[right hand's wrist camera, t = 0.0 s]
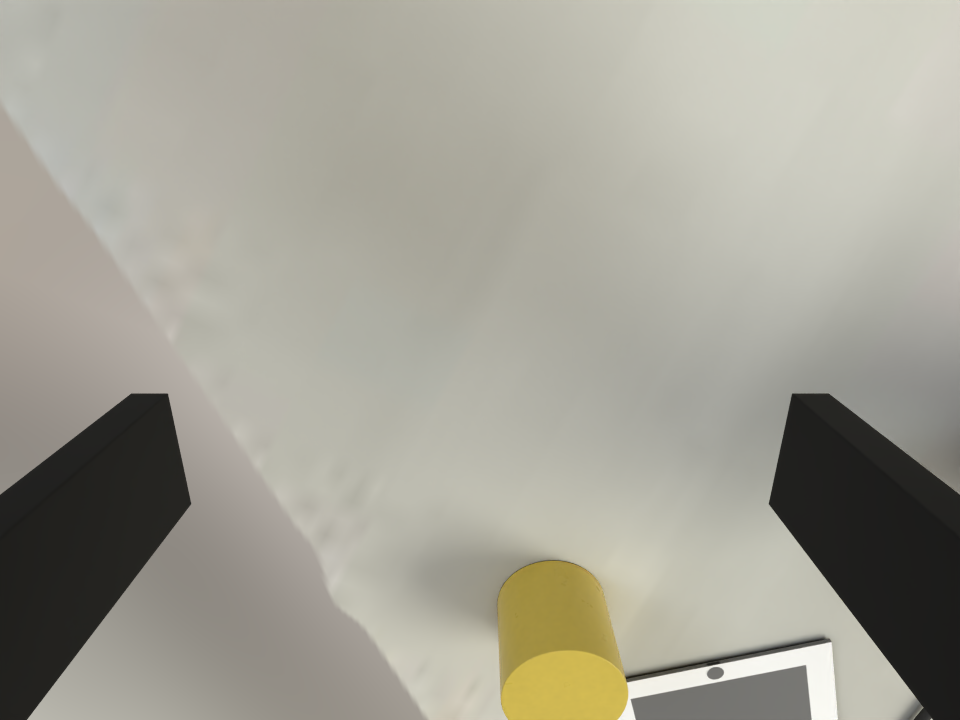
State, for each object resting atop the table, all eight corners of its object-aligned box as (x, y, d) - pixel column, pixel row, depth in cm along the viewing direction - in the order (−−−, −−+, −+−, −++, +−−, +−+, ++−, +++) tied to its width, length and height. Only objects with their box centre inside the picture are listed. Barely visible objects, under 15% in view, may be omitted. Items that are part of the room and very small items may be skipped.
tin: (504, 648, 52) (508, 748, 44) (490, 566, 49) (493, 657, 40) (606, 637, 52) (631, 736, 43) (600, 554, 48) (625, 644, 40)
